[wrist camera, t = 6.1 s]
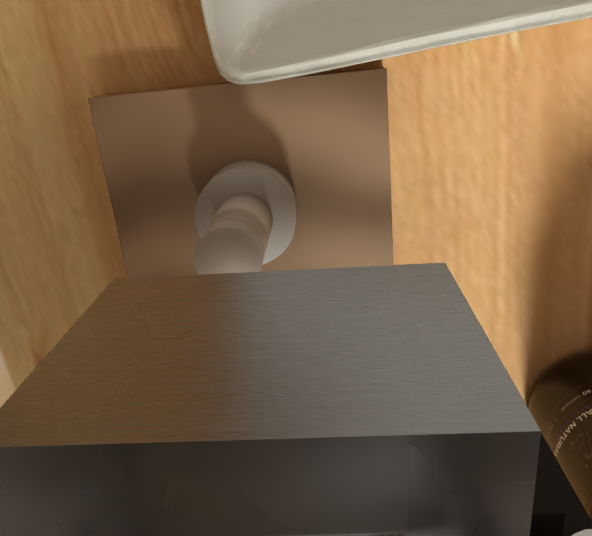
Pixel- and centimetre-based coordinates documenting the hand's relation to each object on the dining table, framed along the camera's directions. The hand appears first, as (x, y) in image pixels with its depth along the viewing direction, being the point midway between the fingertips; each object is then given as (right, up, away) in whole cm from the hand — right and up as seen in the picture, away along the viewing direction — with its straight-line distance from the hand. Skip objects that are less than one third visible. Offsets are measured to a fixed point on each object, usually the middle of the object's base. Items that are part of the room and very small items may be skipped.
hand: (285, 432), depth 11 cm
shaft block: (-2, +7, +16) cm, 18 cm away
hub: (0, 0, +1) cm, 1 cm away
